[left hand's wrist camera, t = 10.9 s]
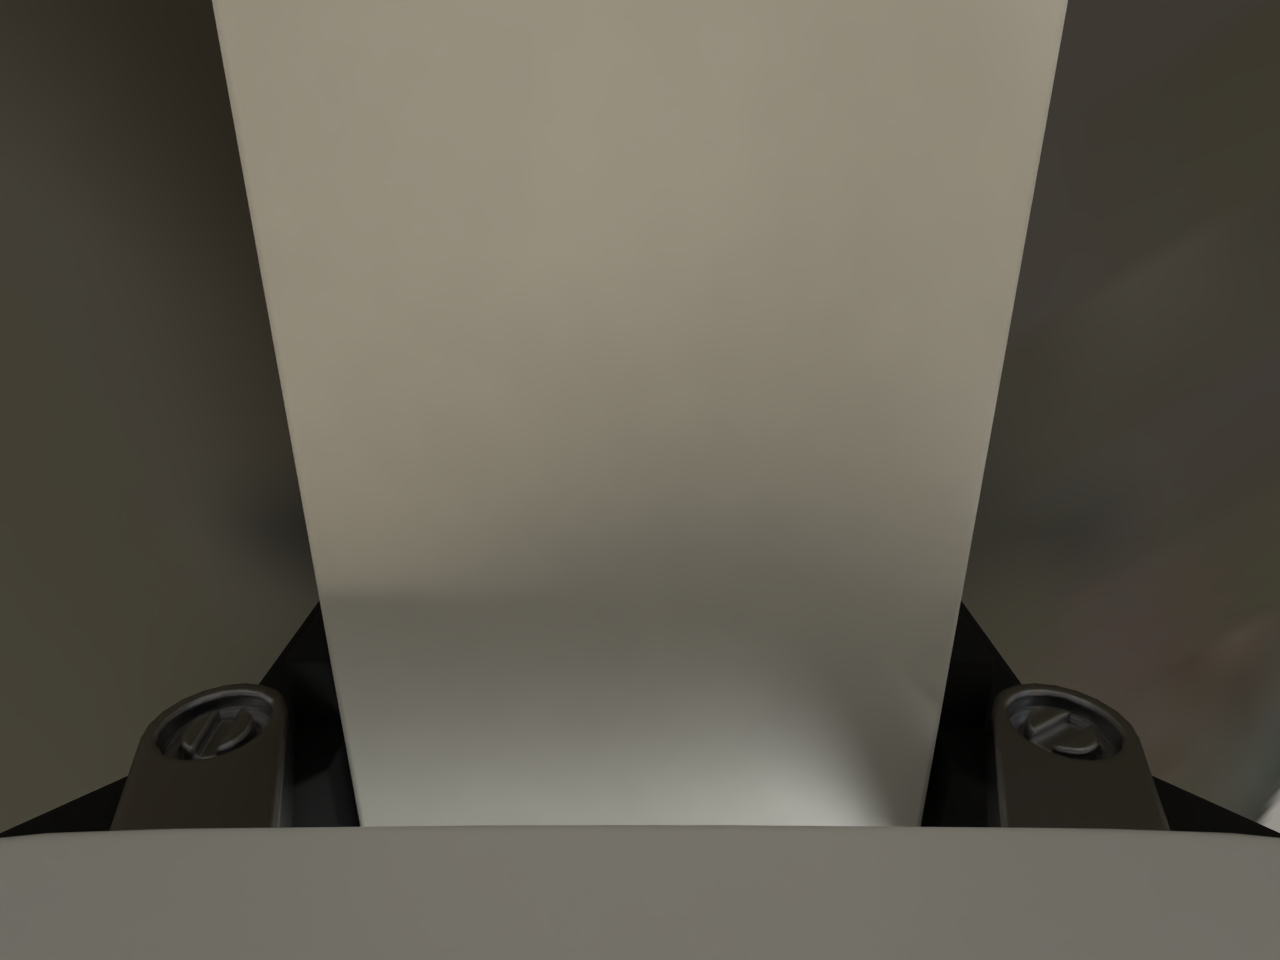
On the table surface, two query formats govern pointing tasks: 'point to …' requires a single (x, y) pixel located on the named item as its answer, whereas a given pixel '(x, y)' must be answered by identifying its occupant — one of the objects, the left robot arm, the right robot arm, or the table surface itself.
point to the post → (640, 384)
